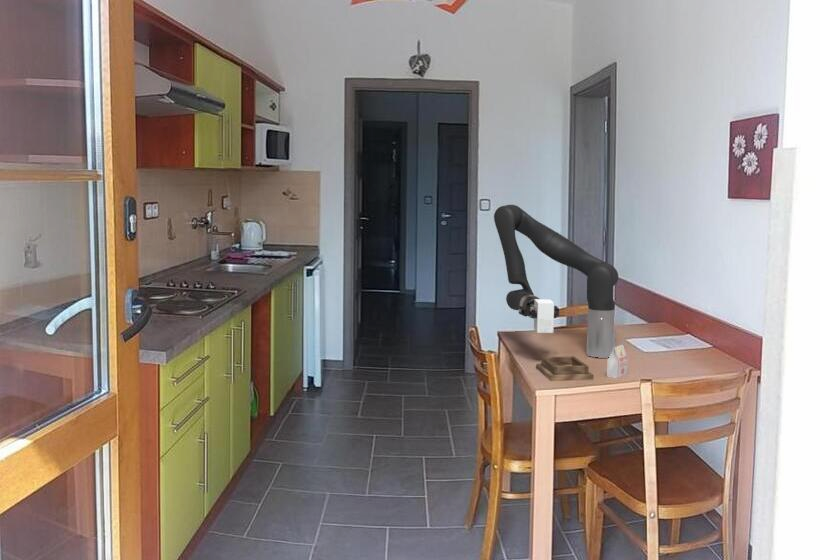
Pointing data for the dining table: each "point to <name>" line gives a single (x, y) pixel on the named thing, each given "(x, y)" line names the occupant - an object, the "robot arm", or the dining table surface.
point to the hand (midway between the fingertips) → (545, 315)
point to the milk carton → (617, 362)
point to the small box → (544, 316)
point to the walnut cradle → (564, 368)
